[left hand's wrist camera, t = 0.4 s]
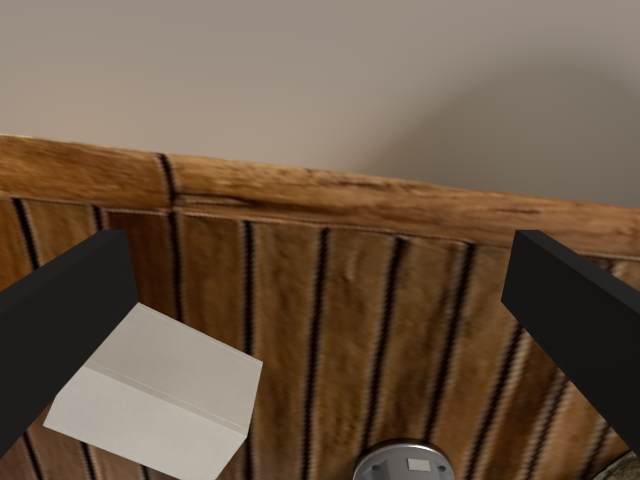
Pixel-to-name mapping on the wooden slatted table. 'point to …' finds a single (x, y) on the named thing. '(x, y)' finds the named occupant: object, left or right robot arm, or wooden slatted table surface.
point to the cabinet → (161, 397)
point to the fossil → (622, 469)
